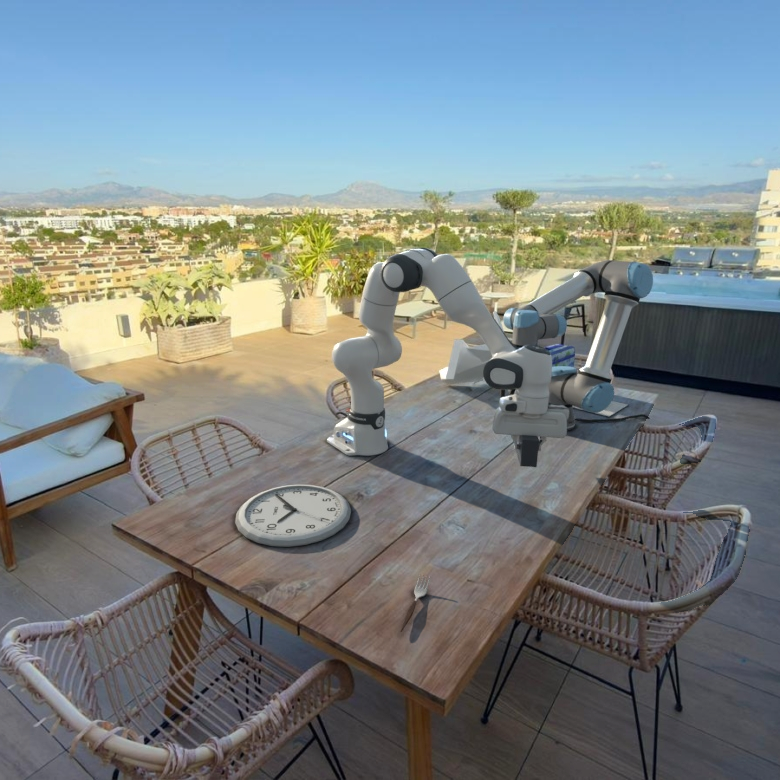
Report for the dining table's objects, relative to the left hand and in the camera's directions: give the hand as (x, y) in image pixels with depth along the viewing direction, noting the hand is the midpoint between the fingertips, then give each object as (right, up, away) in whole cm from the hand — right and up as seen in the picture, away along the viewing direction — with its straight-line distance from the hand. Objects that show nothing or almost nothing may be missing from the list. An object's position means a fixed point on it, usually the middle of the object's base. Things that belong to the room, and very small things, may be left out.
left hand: (526, 449), depth 149 cm
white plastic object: (+3, +16, +94) cm, 95 cm away
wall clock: (-64, -16, -11) cm, 67 cm away
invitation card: (+52, +10, +77) cm, 94 cm away
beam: (+2, +1, +13) cm, 13 cm away
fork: (-34, -27, -44) cm, 62 cm away
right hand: (+3, +5, +26) cm, 26 cm away
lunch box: (+38, +18, +102) cm, 110 cm away
